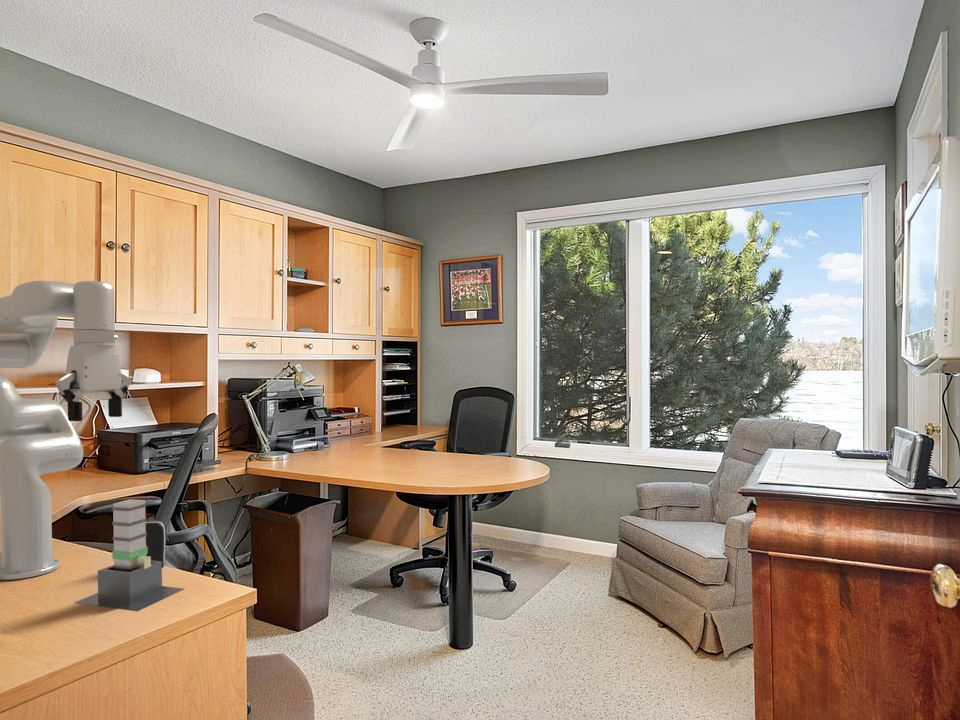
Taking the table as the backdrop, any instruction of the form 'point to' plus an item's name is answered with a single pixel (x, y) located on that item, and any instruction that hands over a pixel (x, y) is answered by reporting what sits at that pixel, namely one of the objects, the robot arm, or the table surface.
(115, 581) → the stand
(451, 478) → the table surface
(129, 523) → the column
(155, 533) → the battery charger
